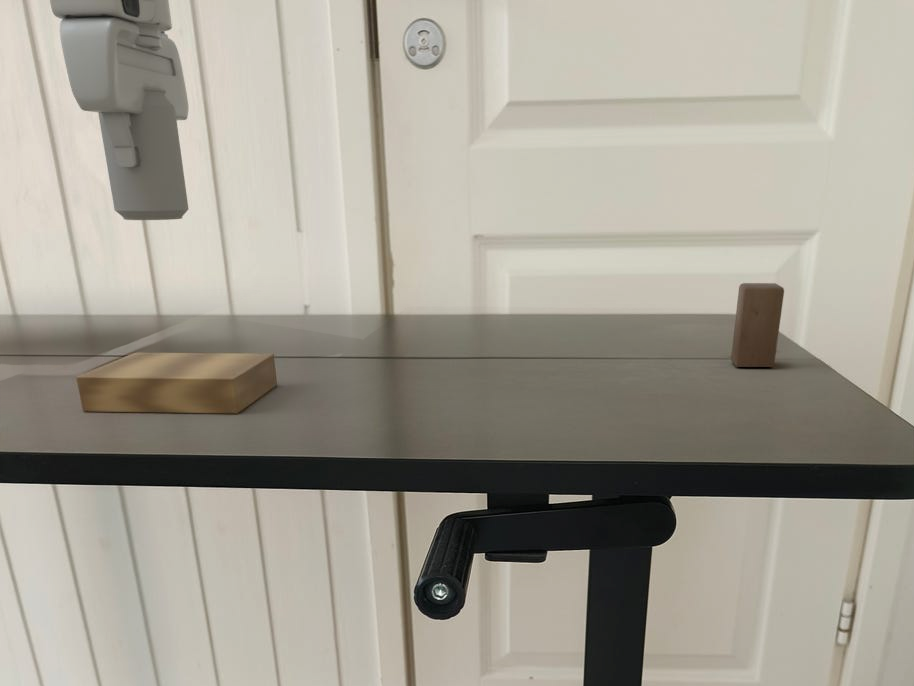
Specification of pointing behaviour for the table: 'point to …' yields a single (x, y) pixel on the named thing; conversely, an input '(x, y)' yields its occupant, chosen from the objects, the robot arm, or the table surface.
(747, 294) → the wooden block
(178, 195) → the can
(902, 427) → the table surface
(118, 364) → the stand
